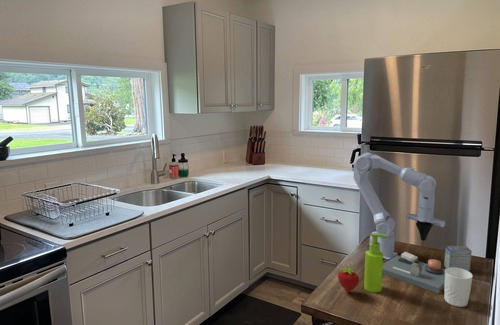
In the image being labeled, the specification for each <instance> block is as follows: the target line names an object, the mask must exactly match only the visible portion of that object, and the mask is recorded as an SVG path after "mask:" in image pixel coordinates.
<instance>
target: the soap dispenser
mask: <svg viewBox="0 0 500 325" xmlns="http://www.w3.org/2000/svg"><path fill="white" fill-rule="evenodd" d="M370 236H371V237H373V239H372V242H370V241H369V245H370V248H369V249H368V250H365V255H364V257H365V258H364V259H365V260H364V276H363V278H364V279H363V280H364V282H363V288H364V290H366V291H367V292H370V293H380V292H381V291H382V288H383V287H382V286H383V274H382V271H383V264H384V258H383V253H382V252H381V251H380V243H378V237H384V238H387V237H388V236H387V235H385V234H381V233H373V232H371V233H370Z"/></svg>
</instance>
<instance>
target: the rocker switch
mask: <svg viewBox="0 0 500 325" xmlns="http://www.w3.org/2000/svg"><path fill="white" fill-rule="evenodd" d="M400 256H401V257H402V258H404V259H406V260H409V261H411V262H413V263H414V262H415V261H417V260H419V257H418V256H416V255H414V254H412V253H409V252H407V251H404V252H403V253H401V254H400Z"/></svg>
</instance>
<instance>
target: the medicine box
mask: <svg viewBox="0 0 500 325" xmlns="http://www.w3.org/2000/svg"><path fill="white" fill-rule="evenodd" d="M471 261H472V250H471V249H470V248H469V246H467V245H446V246H445V250H444V263H443V265H444V268H445V269H447V268H460V269H464V270H467V271H469V272H470V270H471Z"/></svg>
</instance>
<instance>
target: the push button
mask: <svg viewBox="0 0 500 325" xmlns="http://www.w3.org/2000/svg"><path fill="white" fill-rule="evenodd" d="M427 264H428V268H429V269H431V270H441V268H442V261H440V260H438V259H435V258H434V259H433V258H430V259H428V261H427Z"/></svg>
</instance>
